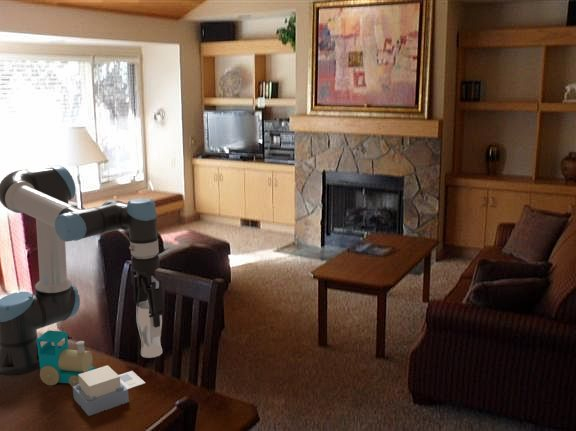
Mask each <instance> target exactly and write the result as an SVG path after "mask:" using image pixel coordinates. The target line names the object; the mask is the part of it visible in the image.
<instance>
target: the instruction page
mask: <svg viewBox="0 0 576 431" xmlns="http://www.w3.org/2000/svg"><path fill="white" fill-rule="evenodd" d="M118 375H119V376H120V382H121V383H122V384H123V385H124V386H125V387H126V388H127V389H128V390H130V389H134V388H137V387H139V386H142V385H145V384H146V382H145V381H144V380H143V379H142V378H141V377H140V376H138V374H136V372H134V371H133V370H130V371H127V372H124V373H121V374H118Z"/></svg>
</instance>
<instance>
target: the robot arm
mask: <svg viewBox="0 0 576 431" xmlns="http://www.w3.org/2000/svg"><path fill="white" fill-rule="evenodd" d="M76 192H77V189H76V184H75V180H74V179H73V176H72V175H71V173H70V171H69V170H68V169H67V168H66V167H64V166H63V165H46V166H39V167H35V168H34V167H33V168H28V169H21V170H15V171H12V172H10V173H8V174H6V176H5V177H4V178H3V179H1V181H0V203H1V205H2V206H3V207H4V208H6V209H7V210H9V211H11V212H13V213H16V214H17V213H18V214H25V215H27V216H30V217H32V218H34V219H35V224H36V225H35V226H36V240H37V242H36V243H37V259H38V270H39V271H38V274H39V281H37V283H36V284H35V286H34V287H35V288H34V291H35V292H34V293H31V292H29V291H18V292H13V293H10V294H7V295H5V296H3V297H1V298H0V374H3V375H8V376H9V375H10V376H12V375H13V376H14V375H15V376H16V375H21V374H26V373H30V372H33V371H35V370H37V369H40V363H39V354H38V346H37V338H38V330H39V329H42V328H45V327H48V326H51V325H54V324H56V323H57V324H58V323H60V322H64V321H66V320H68V319H70V318H73V317H74V316H76V314H78V312H79V309H80V306H81V298H80V294H79V290H78V289H77V286H75V285H74V284H73V283H72V281H71V280H70V279H68V272H67V269H68V268H67V253H66V252H67V251H66V248H67V247H66V242H68V243H69V242H72V241H74V242H75V241H77V242H78V241H79V240H82V239H86V238H90V237H94V236H98V235H103V234H106V233H110V232H114V231H118V230H121V231H125V232H128V235H129V244H130V245H129V246H128V248H129V250H130V255H131V257H130V262H131V269H132V271H131V274H132V275H131V276H132V281H133V282H132V284H133V288H132V289H133V303H135V304H136V305H137V304H138V303H139V302H141V301H145V300H148V302H149V307H150V312H151V315H149V317H150V329H151V338H155V337H159V336H160V337H161V336H162V327H161V326H160V315H162V316H163V315H164V314H165V310H164V302H163V295H162V294H163V292H162V283H163V282H162V280H160V279H159V280H157V276H156V270H158V269H159V268H160V255H159V253H160V251H159V250H160V249H159V248H160V247H159V238H158V219H157V218H158V214H157V210H156V202H155V201H154V200H153V199H152V198H145V197H142V198H141V197H140V198H133V199H130V200H128V201H127V202H123V201H120V200H107V201H105V202H104V203H103V204H102V205H99V206H94V207H89V208H84V209H81V208H79V207H76V206H74V205H72V204H69V201H71V200H72V199H74V197H75V196H76ZM40 345H41V343H40ZM42 346H43V345H41V347H42Z"/></svg>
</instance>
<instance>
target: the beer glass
mask: <svg viewBox="0 0 576 431" xmlns="http://www.w3.org/2000/svg"><path fill="white" fill-rule="evenodd" d="M135 306H136V309H135V310H136V311H135V312H136V316H135V317H136V324H137V325H136V326H137V329H138V333H139V337H140V341H141V343H140V344H141V349H140V355H141V357H143V358H146V359H152V358H157V357H160V356H161V355H162V354H163V348H162V345H161V344H162V343H161V336H159V337H155V338H151V329H150V317H149V315H151V312H150V307H149V302H148V299H147V300H145V301H141V302H139V303H138V304H137V303H136V305H135ZM162 325H163V315H160V326H161V328H162Z"/></svg>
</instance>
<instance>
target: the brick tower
mask: <svg viewBox="0 0 576 431" xmlns="http://www.w3.org/2000/svg"><path fill="white" fill-rule="evenodd" d="M119 375H120V374H118V373H117V372H116V371H114V369H112V368H111V367H110V365H103V366H101V367H98V368H95V369H94V370H91V371H88V372H84V373H81V374H78V378H79V384H77V385H76V386H73V387H72V394H73V399H74V400H75V403H77V404H78V405H79V407H80V406H81V407H80V408H81V409H82V410H83V411H84V413H85V414H86V415H87V416H88V417H90V416H93V415H96V414H99V413H101V411H102V412H104V410H105V411H107V410H110V409H113V408H115V407H119V406H122V405H124V404H127V403H129V402H130V400H129V389H127V388H126V387H125V386H124V385H123V384H122V383H121V382H120V376H119ZM121 404H122V405H121Z"/></svg>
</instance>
